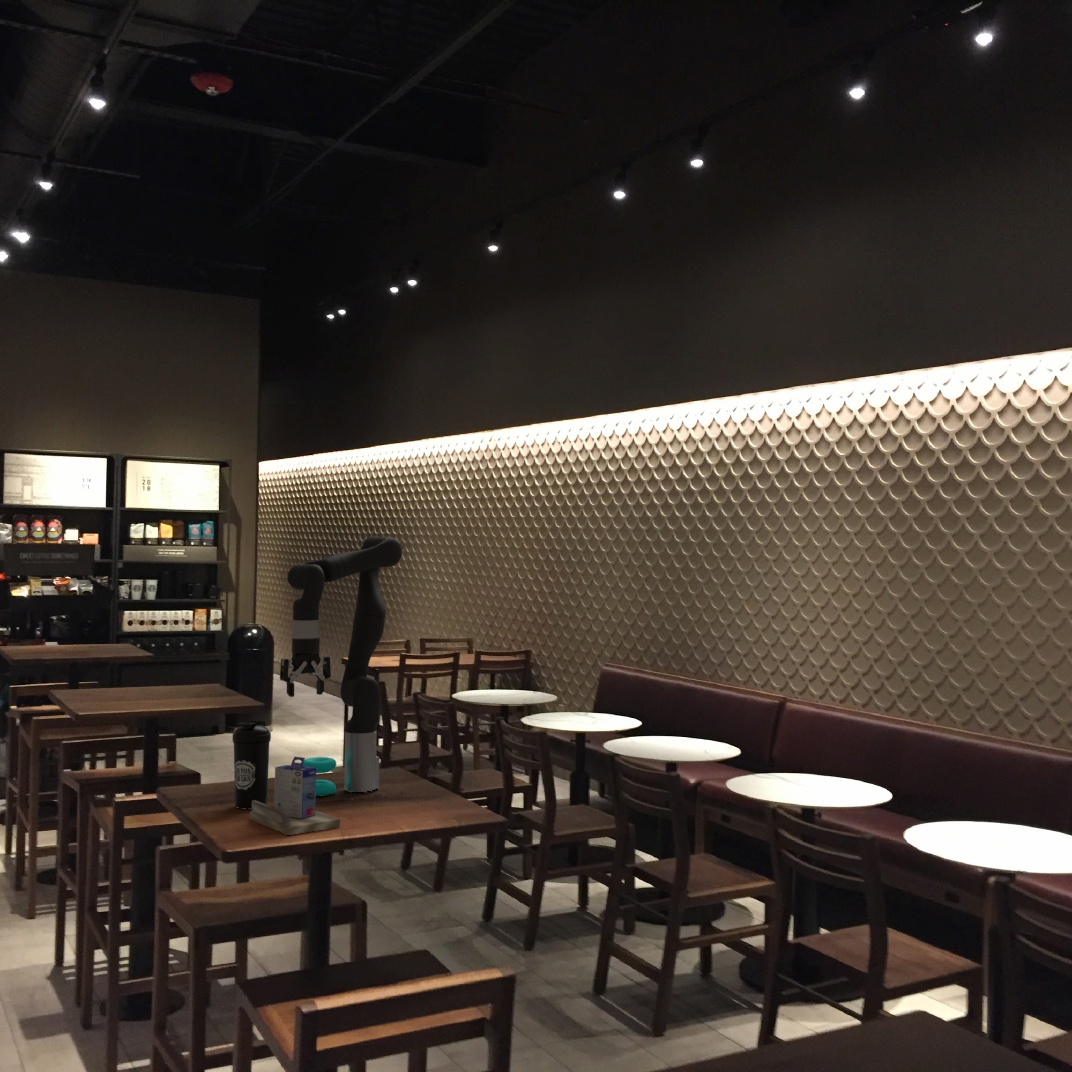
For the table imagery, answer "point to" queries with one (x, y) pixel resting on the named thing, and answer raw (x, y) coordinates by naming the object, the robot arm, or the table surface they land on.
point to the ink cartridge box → (295, 789)
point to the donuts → (322, 767)
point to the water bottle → (251, 763)
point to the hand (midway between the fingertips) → (305, 695)
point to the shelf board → (290, 820)
